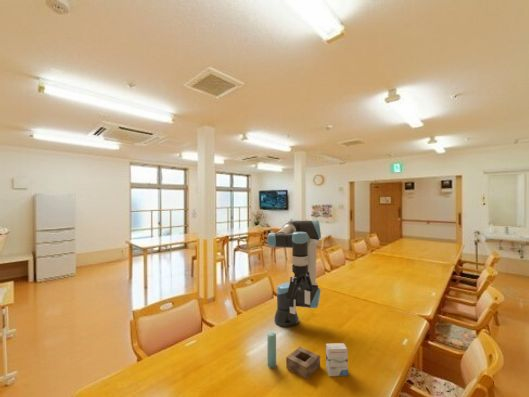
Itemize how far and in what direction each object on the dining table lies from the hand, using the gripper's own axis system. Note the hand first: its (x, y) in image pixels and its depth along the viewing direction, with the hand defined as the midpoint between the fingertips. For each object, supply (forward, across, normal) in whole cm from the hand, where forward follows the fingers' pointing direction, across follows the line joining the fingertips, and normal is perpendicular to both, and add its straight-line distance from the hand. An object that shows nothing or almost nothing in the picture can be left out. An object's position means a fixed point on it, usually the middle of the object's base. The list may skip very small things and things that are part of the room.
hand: (300, 308), depth 123 cm
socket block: (+24, -5, -4) cm, 25 cm away
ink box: (+24, +2, -18) cm, 30 cm away
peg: (+24, -12, +8) cm, 28 cm away
